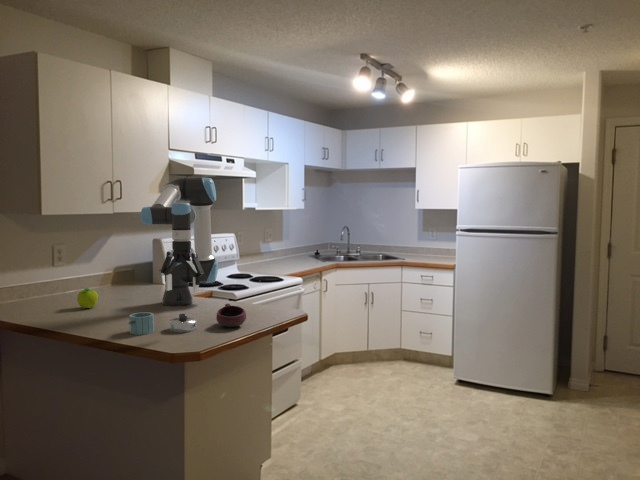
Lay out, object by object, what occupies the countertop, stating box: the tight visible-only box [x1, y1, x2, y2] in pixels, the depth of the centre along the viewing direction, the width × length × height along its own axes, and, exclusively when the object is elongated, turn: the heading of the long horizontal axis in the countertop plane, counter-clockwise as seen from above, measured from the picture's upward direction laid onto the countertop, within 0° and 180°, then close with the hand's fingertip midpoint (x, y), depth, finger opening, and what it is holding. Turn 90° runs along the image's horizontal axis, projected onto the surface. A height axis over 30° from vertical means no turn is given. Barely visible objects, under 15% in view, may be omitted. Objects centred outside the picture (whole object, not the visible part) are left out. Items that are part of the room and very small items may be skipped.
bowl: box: [215, 303, 247, 328], centre depth 228 cm, size 16×13×8 cm
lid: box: [169, 313, 198, 334], centre depth 222 cm, size 11×11×6 cm
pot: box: [128, 311, 155, 336], centre depth 218 cm, size 13×9×7 cm
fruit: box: [76, 287, 99, 309], centre depth 261 cm, size 9×9×10 cm
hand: (182, 291), depth 220 cm, fingers open, 13 cm apart
